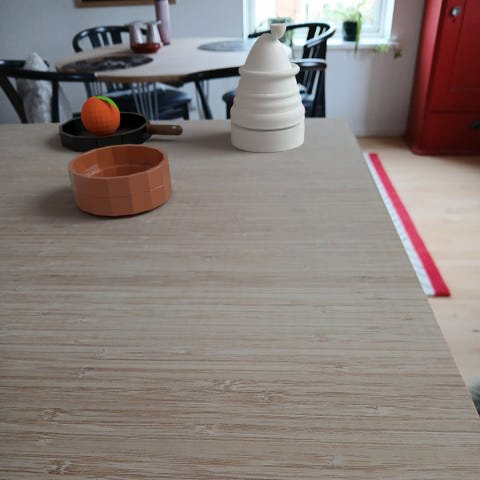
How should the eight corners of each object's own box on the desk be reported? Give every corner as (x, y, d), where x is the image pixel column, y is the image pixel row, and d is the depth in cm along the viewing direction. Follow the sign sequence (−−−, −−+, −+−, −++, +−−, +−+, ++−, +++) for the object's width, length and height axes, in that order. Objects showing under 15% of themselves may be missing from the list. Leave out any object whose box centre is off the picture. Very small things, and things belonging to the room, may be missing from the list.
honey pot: (316, 135, 92) (322, 20, 81) (280, 157, 84) (282, 31, 73) (255, 126, 98) (254, 17, 87) (216, 145, 90) (209, 27, 79)
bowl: (59, 215, 68) (49, 175, 65) (102, 178, 79) (95, 142, 75) (152, 222, 66) (146, 181, 62) (184, 183, 76) (180, 146, 73)
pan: (45, 150, 91) (41, 134, 89) (87, 123, 103) (84, 109, 102) (168, 155, 86) (166, 139, 84) (196, 127, 99) (195, 112, 97)
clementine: (135, 132, 96) (129, 92, 92) (112, 144, 91) (104, 101, 87) (101, 128, 99) (94, 89, 95) (77, 139, 94) (68, 98, 90)
